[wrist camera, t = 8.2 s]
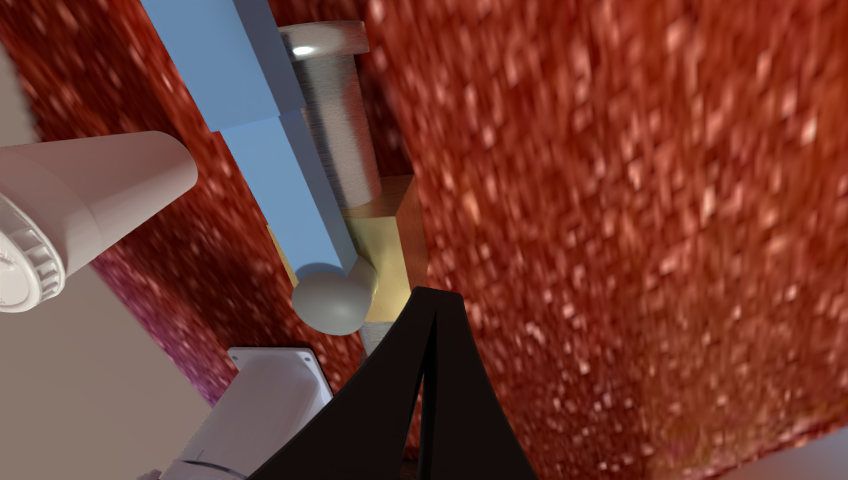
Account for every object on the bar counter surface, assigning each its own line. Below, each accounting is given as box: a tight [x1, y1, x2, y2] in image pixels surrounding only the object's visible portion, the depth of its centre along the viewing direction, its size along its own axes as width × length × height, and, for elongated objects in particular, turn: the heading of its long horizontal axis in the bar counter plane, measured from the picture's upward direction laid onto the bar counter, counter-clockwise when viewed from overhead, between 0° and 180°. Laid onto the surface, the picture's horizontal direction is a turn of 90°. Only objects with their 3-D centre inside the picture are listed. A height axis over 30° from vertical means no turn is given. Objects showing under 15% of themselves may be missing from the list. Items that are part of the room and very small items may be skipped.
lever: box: [140, 0, 378, 335], centre depth 12 cm, size 13×3×2 cm, turn 13°
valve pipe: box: [266, 20, 429, 380], centre depth 17 cm, size 20×6×5 cm, turn 8°
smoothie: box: [0, 131, 198, 312], centre depth 13 cm, size 6×6×14 cm
